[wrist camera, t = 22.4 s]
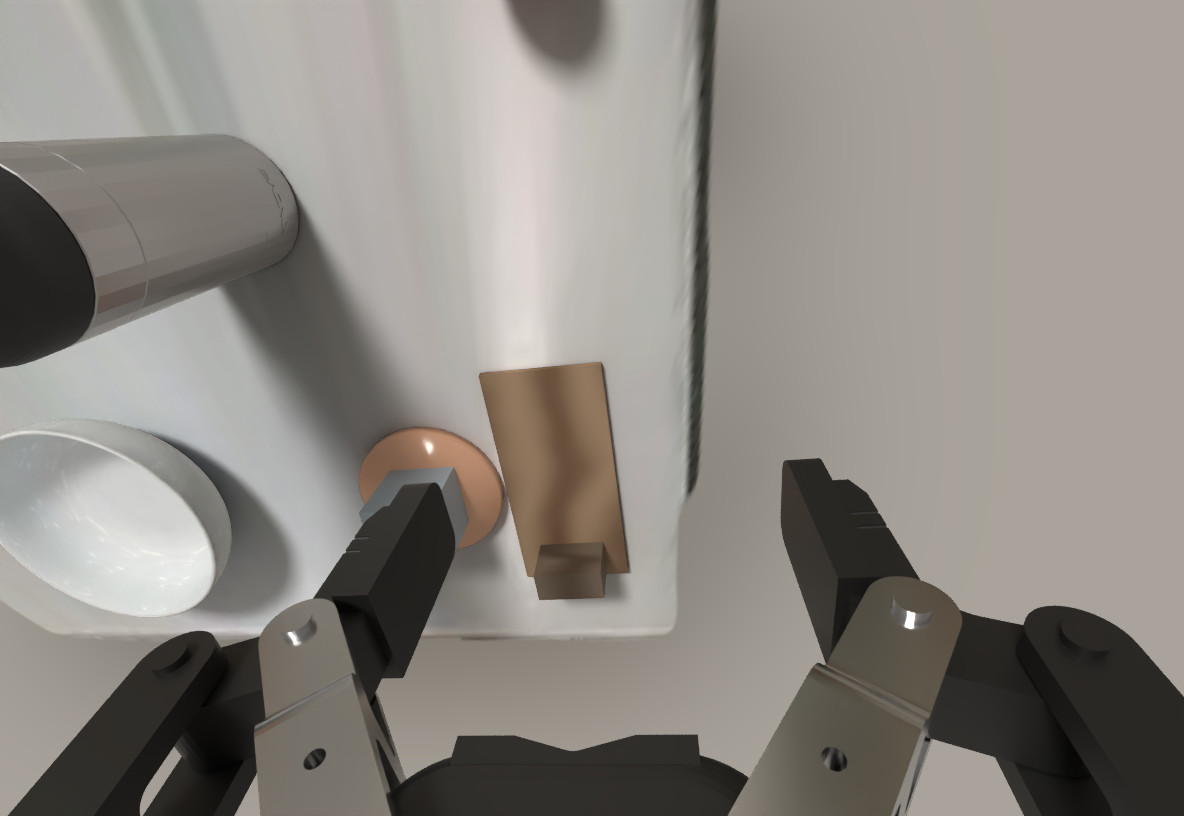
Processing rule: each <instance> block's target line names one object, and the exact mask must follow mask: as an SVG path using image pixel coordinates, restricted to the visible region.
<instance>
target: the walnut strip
mask: <svg viewBox="0 0 1184 816" xmlns="http://www.w3.org/2000/svg"><path fill="white" fill-rule="evenodd" d="M479 379H480V384H481V388H482V392H483V396H484V400H485V404H486V408H487V412H488V416H489V420H490V424H491V429H492V433H493V437H494V441H495V445H496V449H497V453H498V457H499V461H500V465H501V470H502V474H503V478H504V482H505V486H506V490H507V494H508V498H509V502H510V506H511V510H512V515H513V519H514V523H515V527H516V531H517V535H518V539H519V543H520V547H521V551H522V555H523V560H524V564H525V568H526V572H527V576H528V577H534V580H535V584H536V588H537V592H538V597H539V600H554V599H581V598H604V595H605V581H606V574H608V573H628V563H627V555H626V548H625V540H624V533H623V525H622V517H621V510H620V502H619V494H618V487H617V479H616V472H615V464H614V456H613V449H612V441H611V433H610V426H609V418H608V410H607V403H606V395H605V388H604V380H603V372H602V365H601V362H597V363H586V364H575V365H564V366H553V367H542V368H531V369H520V370H509V371H498V372H487V373H480V374H479Z"/></svg>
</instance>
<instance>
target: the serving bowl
mask: <svg viewBox="0 0 1184 816" xmlns="http://www.w3.org/2000/svg"><path fill="white" fill-rule="evenodd" d="M0 544H1V545H2V546H3V547H4V548H5V549H6V550H7V551H8V552H9V553H10V554H11V555H12V556H13V557H14V558H15V559H16V560H17V561H18V562H20V563H21V564H22V565H23V566H24V567H26V568H27V569H28V570H29V571H31V572H32V573H33V574H35V575H36V576H37V577H39V578H40V579H42V580H43V581H45V582H46V583H48V584H49V585H51V586H53V587H54V588H56V589H58V590H59V591H61V592H63V593H65V594H67V595H69V596H71V597H73V598H75V599H77V600H79V601H82V602H84V603H87V604H89V605H92V606H94V607H97V608H100V609H103V610H107V611H110V612H114V613H118V614H123V615H128V616H135V617H147V618H155V617H166V616H172V615H177V614H180V613H183V612H185V611H188V610H190V609H192V608H194V607H195V606H197V605H198V604H199V603H201V602H202V601H203V600H204V599H205V598H206V597H207V596H208V595H209V593H210V592H211V590H212V589H213V588H214V586H215V585H216V583H217V582H218V580H219V579H220V577H221V575H222V573H223V571H224V569H225V567H226V564H227V562H228V559H229V555H230V551H231V544H232V531H231V523H230V518H229V514H228V511H227V509H226V506H225V504H224V501H223V499H222V497H221V495H220V494H219V492H218V490H217V489H216V487H215V486H214V485H213V483H212V482H211V480H210V479H209V478H208V477H207V476H206V474H205V473H204V472H203V471H202V470H201V469H200V468H199V467H198V466H197V465H196V464H195V463H193V462H192V461H191V460H190V459H189V458H188V457H186V456H185V455H184V454H182V453H181V452H180V451H178V450H177V449H175V448H174V447H172V446H171V445H169V444H167V443H166V442H164V441H162V440H160V439H158V438H156V437H154V436H152V435H150V434H148V433H145V432H143V431H140V430H138V429H135V428H131V427H128V426H125V425H121V424H117V423H113V422H108V421H101V420H92V419H61V420H53V421H47V422H41V423H37V424H33V425H29V426H26V427H23V428H20V429H17V430H14V431H11V432H8V433H5V434H3V435H1V436H0Z"/></svg>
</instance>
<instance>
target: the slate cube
mask: <svg viewBox="0 0 1184 816" xmlns="http://www.w3.org/2000/svg"><path fill="white" fill-rule="evenodd" d="M432 482H435V483H437V484H438V485H439V486H440V488H441V491H442V494H443V497H444V501H445V504H446V507H447V510H448V514H449V517H450V520H451V523H452V526H453V530H454V533H455V553H456V551H457V548H458V546H459V544H460V541H461V539H462V536H463V534H464V532H465V529H466V527H467V525H468V522H469V518H468V515H467V511H466V508H465V504H464V501H463V497H462V494H461V490H460V487H459V483H458V480H457V476H456V472H455V469H454V467H440V468H425V469H409V470H394V471H389V472H388V473H387V475H386V476H385V477H384V479H383V480H382V482H381V483H380V485H379V486H378V487H377V489H376V490H375V492H374V493H373V494H372V496H371V497H370V499H369V500H368V502H367V503H366V504H365V506H364V507H363V509H362V510H361V511H360V513H359V514H360V517H361V519H362V522H363V524H364V523H365V521H366V520H367V519H369V518H370V517H371V516H372V515H373V514H375V513H376V512H377V511H378V510H379V509H381V508H382V507H383V506H389V505H390V504H391V502H392V501H393V499H394V498H395V496H396V495H397V493H398V491H399V490H400V488H401V487H402V486H403V485H405V484H417V483H432ZM454 556H455V554H454Z"/></svg>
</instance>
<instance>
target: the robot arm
mask: <svg viewBox="0 0 1184 816" xmlns="http://www.w3.org/2000/svg"><path fill="white" fill-rule="evenodd" d="M298 225H299V223H298V210H297V206H296V202H295V198H294V195H293V193H292V191H291V189H290V187H289V184H288V182H287V181H286V179H285V178H284V176H283V175H282V173H281V172H280V170H279V169H278V168H277V167H276V166H275V165H274V163H273V162H272V161H271V160H270V159H269V158H268V157H267V156H266V155H264V154H263V153H262V152H260V151H259V150H258V149H257V148H255V147H254V146H252V145H250V144H248V143H246V142H244V141H243V140H240V139H237V138H234V137H231V136H227V135H216V134H207V135H181V136H148V137H123V138H98V139H73V140H48V141H24V142H0V368H4V367H11V366H18V365H22V364H26V363H29V362H32V361H35V360H38V359H40V358H43V357H45V356H48V355H50V354H53V353H55V352H57V351H60V350H62V349H65V348H67V347H70V346H73V345H75V344H77V343H80V342H82V341H85V340H87V339H90V338H92V337H95V336H97V335H100V334H102V333H105V332H107V331H110V330H112V329H115V328H117V327H119V326H121V325H124V324H126V323H129V322H131V321H134V320H136V319H139V318H141V317H144V316H146V315H149V314H151V313H154V312H156V311H159V310H161V309H164V308H166V307H169V306H171V305H174V304H176V303H179V302H181V301H184V300H186V299H189V298H191V297H194V296H196V295H199V294H201V293H204V292H206V291H209V290H211V289H214V288H216V287H219V286H221V285H224V284H226V283H228V282H231V281H233V280H236V279H239V278H241V277H244V276H246V275H249V274H251V273H254V272H256V271H259V270H261V269H263V268H266V267H268V266H271V265H273V264H276V263H278V262H279V261H280V260H282V259H283V258H284V257H286V255H287V254H288V253H289V251H290V250H291V249H292V247H293V245H294V243H295V240H296V238H297V232H298ZM781 495H782V496H781V528H782V535H783V540H784V543H785V547H786V549H787V552H788V555H789V558H790V561H791V564H792V567H793V570H794V572H795V576H796V578H797V581H798V584H799V587H800V590H801V593H802V596H803V599H804V602H805V604H806V607H807V610H808V613H809V616H810V619H811V622H812V625H813V627H814V631H815V633H816V636H817V639H818V642H819V645H820V648H821V651H822V654H823V657H824V660H825V663H826V664H825V665H822V664H820V663H817V664H815V665H814V666H813V668H812V669H811V670H810V672H809V674H808V675H807V677H806V679H805V680H804V682H803V684H802V686H801V687H800V690H799V691H798V693H797V695H796V696H795V698H794V700H793V702H792V703H791V705H790V707H789V709H788V710H787V712H786V714H785V716H784V717H783V719H782V721H781V723H780V724H779V726H778V728H777V730H776V731H775V733H774V735H773V737H772V739H771V740H770V742H769V744H768V746H767V748H766V749H765V751H764V753H763V754H762V756H761V758H760V760H759V761H758V764H757V765H756V767H755V768H754V770H753V772H752V774H751V776H750V777H749V778H748V777H747V776H746V775H744V774H743V773H741V772H739V771H737V770H735V769H734V768H732V767H730V766H728V765H726V764H724V763H721V762H719V761H716V760H714V759H711V758H707V757H704V756H700V754H699V745H698V735H634V736H631V737H627V738H623V739H620V740H616V741H612V742H608V743H605V744H601V745H597V746H594V747H590V748H586V749H583V750H579V751H567V750H563V749H560V748H556V747H553V746H549V745H546V744H542V743H539V742H535V741H531V740H528V739H525V738H521V737H517V736H458V737H457V740H456V744H455V748H454V751H453V754H452V757H450V758H447V759H444V760H442V761H439V762H437V763H434V764H432V765H430V766H428V767H426V768H424V769H422V770H421V771H419V772H417V773H416V774H414V775H413V776H411V777H410V778H408V779H407V780H406V778H405V775H404V772H403V770H402V767H401V764H400V761H399V757H398V754H397V752H396V749H395V745H394V742H393V739H392V736H391V733H390V730H389V727H388V724H387V721H386V718H385V714H384V712H383V708H382V706H381V702H380V700H379V697H378V695H377V693H376V690H377V688H378V686H379V683H380V681H381V679H382V678H403V677H404V675H405V672H406V670H407V668H408V665H409V663H410V661H411V658H412V656H413V654H414V651H415V649H416V646H417V644H418V641H419V639H420V637H421V634H422V632H423V630H424V627H425V625H426V623H427V620H428V618H429V615H430V613H431V611H432V608H433V606H434V603H435V601H436V599H437V596H438V594H439V591H440V589H441V587H442V584H443V582H444V580H445V577H446V575H447V572H448V570H449V568H450V565H451V563H452V560H453V558H454V554H455V533H454V530H453V526H452V523H451V520H450V517H449V514H448V510H447V507H446V504H445V501H444V497H443V494H442V491H441V488H440V486H439V485H438V484H437V483H435V482H432V483H417V484H405V485H403V486H402V487H401V488H400V490H399V491H398V493H397V495H396V496H395V498H394V499H393V501H392V502H391V504H390V505H389V506H383V507H382V508H381V509H379V510H378V511H377V512H376V513H375V514H373V515H372V516H371V517H370V518H369V519H367V520H366V521H365V523H364V524H363V526H362V527H361V528H360V530H359V531H358V533H357V534H356V536H355V540H352V542H351V543H350V545H349V546H348V548H347V549H346V553H344V554H343V555H342V557H341V558H340V560H339V561H338V563H337V564H336V565H335V567H334V568H333V570H332V571H331V573H330V574H329V576H328V577H327V579H326V580H325V582H324V583H323V585H322V586H321V588H320V589H319V591H318V592H317V594H316V595H315V597H314V598H313V599H310V600H306V601H303V602H300V603H297V604H295V605H293V606H291V607H289V608H287V609H286V610H284V611H282V612H281V613H280V614H278V615H277V616H276V617H275V618H274V619H273V620H271V621H270V623H269V624H268V625H267V626H266V627H265V629H264V630H263V632H262V634H261V636H260V637H256V638H253V639H249V640H246V641H243V642H239V643H236V644H232V645H229V646H226V647H222V648H221V647H220V645H219V644H218V642H217V641H216V639H215V637H214V636H213V635H212V634H211V633H209V632H206V631H193V632H189V633H185V634H182V635H179V636H177V637H175V638H172V639H170V640H168V641H167V642H165V643H163V644H161V645H160V646H158V647H157V648H155V649H154V650H153V651H151V652H150V653H149V654H148V655H147V656H146V657H144V658H143V659H142V660H141V661H140V662H139V663H138V664H137V665H136V667H135V668H134V669H133V670H132V671H131V672H130V674H129V675H128V676H127V677H126V678H125V680H124V681H123V682H122V683H121V684H120V685H119V686H118V688H117V689H116V690H115V691H114V692H113V693H112V695H111V696H110V697H109V698H108V699H107V700H106V702H105V703H104V704H103V705H102V706H101V707H100V709H99V710H98V711H97V712H96V713H95V714H94V716H93V717H92V718H91V719H90V720H89V722H88V723H87V724H86V725H85V726H84V727H83V729H82V730H81V731H80V732H79V733H78V734H77V736H76V737H75V738H74V739H73V740H72V741H71V743H70V744H69V745H68V746H67V747H66V748H65V750H64V751H63V752H62V753H61V754H60V755H59V757H58V758H57V759H56V760H55V761H54V762H53V764H52V765H51V766H50V767H49V768H48V769H47V771H46V772H45V773H44V774H43V775H42V776H41V778H40V779H39V780H38V781H37V782H36V783H35V785H34V786H33V787H32V788H31V789H30V790H29V792H28V793H27V794H26V795H25V796H24V797H23V799H22V800H21V801H20V802H19V803H18V804H17V806H16V807H15V808H14V809H13V810H12V812H11V813H10V814H9V815H8V816H140V802H141V799H142V795H143V793H144V791H145V789H146V787H147V785H148V784H149V782H150V781H151V779H152V778H153V776H154V775H155V773H156V772H157V770H158V769H159V768H160V766H161V765H162V763H163V762H164V760H165V759H166V757H167V756H168V754H169V753H170V751H171V750H172V749H173V747H175V748H176V749H177V751H178V752H179V753H180V755H181V756H182V757H181V759H180V760H179V762H178V763H177V765H176V767H175V768H174V769H173V771H172V773H171V774H170V775H169V777H168V778H167V780H166V781H165V783H164V785H163V786H162V788H161V789H160V791H159V792H158V794H157V795H156V797H155V798H154V800H153V801H152V803H151V804H150V806H149V807H148V809H147V810H146V812H145V813H144V815H143V816H234V815H235V813H236V811H237V810H238V807H239V806H240V804H241V802H242V800H243V798H244V796H245V794H246V792H247V791H248V789H249V787H250V785H251V783H252V781H253V779H254V777H255V776H256V773H257V778H258V792H259V804H260V816H907V813H908V810H909V807H910V804H911V801H912V798H913V795H914V792H915V789H916V786H917V783H918V780H919V777H920V775H921V771H922V768H923V766H924V763H925V760H926V757H927V754H928V751H929V748H930V744H931V742H932V739H935V740H938V741H941V742H945V743H948V744H952V745H955V746H959V747H962V748H966V749H969V750H973V751H976V752H979V753H983V754H986V755H990V756H993V757H995V758H996V760H997V762H998V764H999V766H1000V768H1001V770H1002V772H1003V774H1004V776H1005V778H1006V780H1007V782H1008V784H1009V786H1010V788H1011V790H1012V792H1013V794H1014V796H1015V798H1016V800H1017V802H1018V804H1019V806H1020V808H1021V810H1022V812H1023V814H1024V816H1184V697H1183V695H1182V694H1181V693H1180V692H1179V691H1178V690H1177V689H1176V687H1175V686H1174V685H1173V684H1172V683H1171V682H1170V680H1169V679H1168V678H1167V677H1166V676H1165V675H1164V674H1163V673H1162V671H1161V670H1160V669H1159V668H1158V667H1157V666H1156V665H1155V663H1154V662H1153V661H1152V660H1151V659H1150V657H1149V656H1148V655H1147V654H1146V653H1145V652H1144V651H1143V649H1142V648H1141V647H1140V646H1139V645H1138V644H1137V643H1136V642H1135V641H1134V640H1133V639H1132V638H1131V637H1130V636H1129V635H1128V634H1126V633H1125V632H1124V631H1123V630H1121V629H1120V628H1119V627H1117V626H1115V625H1114V624H1112V623H1111V622H1109V621H1107V620H1105V619H1103V618H1101V617H1099V616H1096V615H1094V614H1091V613H1089V612H1086V611H1083V610H1079V609H1075V608H1070V607H1064V606H1045V607H1040V608H1037V609H1035V610H1033V611H1032V612H1030V613H1029V614H1028V616H1027V617H1026V619H1025V622H1024V625H1020V624H1014V623H1009V622H1005V621H1000V620H995V619H990V618H985V617H980V616H976V615H972V614H969V613H966V612H963V611H961V610H959V608H958V607H957V605H956V604H955V602H954V601H953V600H952V599H951V598H950V597H949V596H948V595H947V594H946V593H944V592H943V591H941V590H940V589H939V588H937V587H935V586H933V585H931V584H929V583H927V582H924V581H921V580H920V579H919V577H918V576H917V574H916V572H915V571H914V569H913V567H912V566H911V564H910V563H909V561H908V559H907V558H906V556H905V554H904V553H903V551H902V549H901V548H900V546H899V544H898V543H897V541H896V540H895V538H894V536H893V535H892V533H891V531H890V530H889V528H887V527H886V523H885V522H884V520H883V518H882V517H881V515H880V514H878V510H877V508H876V507H875V506H874V504H873V502H872V500H871V499H870V497H869V495H868V494H867V493H866V492H865V491H863V490H862V489H861V488H859V487H858V486H856V485H855V484H854V483H852V482H851V481H850V480H848V479H847V480H832V478H831V477H830V475H829V473H828V471H827V469H826V467H825V465H824V463H823V462H822V460H821V459H819V458H817V459H800V460H786V461H784V463H783V468H782V494H781Z"/></svg>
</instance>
